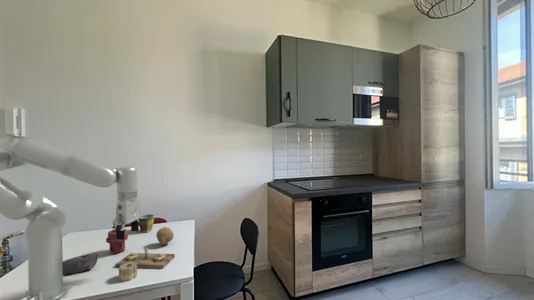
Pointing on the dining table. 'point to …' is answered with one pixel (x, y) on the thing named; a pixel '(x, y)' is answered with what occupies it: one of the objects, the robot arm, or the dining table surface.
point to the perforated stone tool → (79, 263)
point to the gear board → (147, 260)
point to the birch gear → (127, 271)
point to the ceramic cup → (146, 223)
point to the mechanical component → (116, 242)
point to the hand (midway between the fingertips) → (128, 235)
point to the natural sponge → (164, 235)
